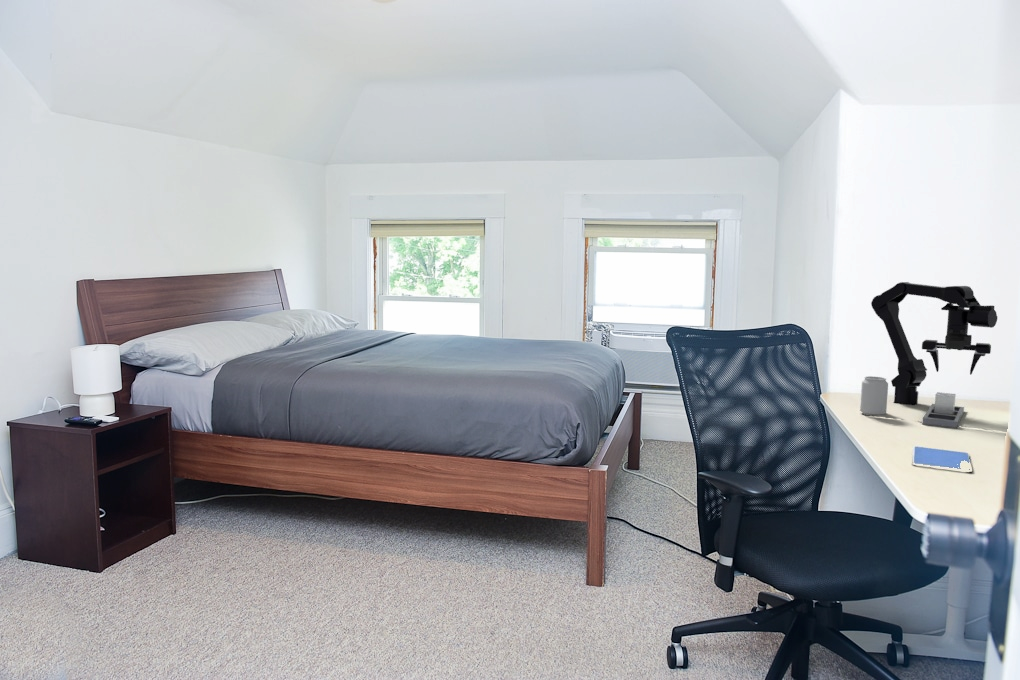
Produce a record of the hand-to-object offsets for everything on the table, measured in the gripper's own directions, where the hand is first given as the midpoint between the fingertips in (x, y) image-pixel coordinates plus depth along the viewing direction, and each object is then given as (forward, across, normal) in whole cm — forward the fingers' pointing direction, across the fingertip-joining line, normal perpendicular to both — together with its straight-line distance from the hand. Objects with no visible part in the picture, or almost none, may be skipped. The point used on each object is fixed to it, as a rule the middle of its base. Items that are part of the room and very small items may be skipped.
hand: (953, 373), depth 234 cm
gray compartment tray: (+13, -1, -12) cm, 18 cm away
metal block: (+12, -1, -12) cm, 17 cm away
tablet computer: (+14, +3, -68) cm, 70 cm away
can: (+13, -20, -19) cm, 31 cm away
